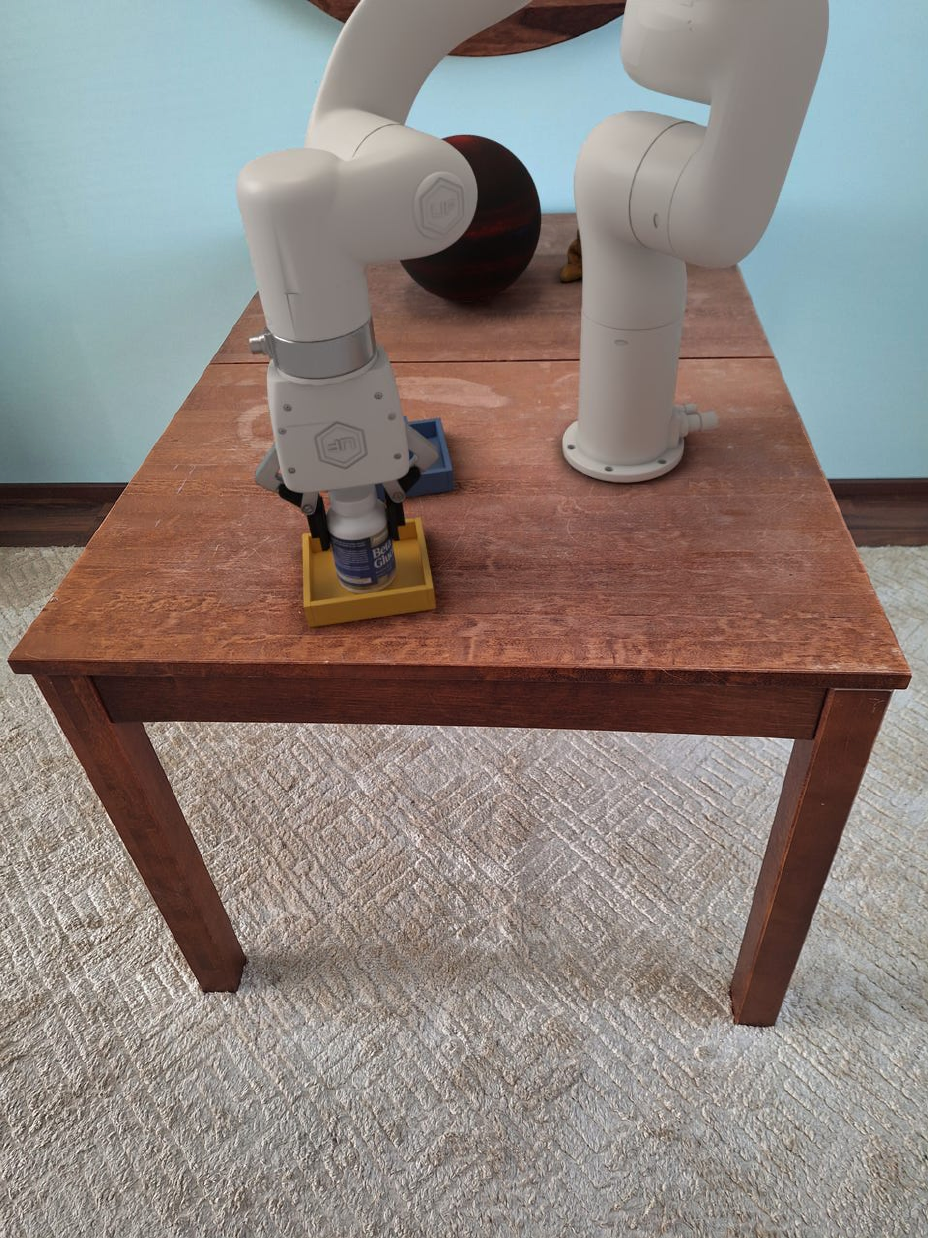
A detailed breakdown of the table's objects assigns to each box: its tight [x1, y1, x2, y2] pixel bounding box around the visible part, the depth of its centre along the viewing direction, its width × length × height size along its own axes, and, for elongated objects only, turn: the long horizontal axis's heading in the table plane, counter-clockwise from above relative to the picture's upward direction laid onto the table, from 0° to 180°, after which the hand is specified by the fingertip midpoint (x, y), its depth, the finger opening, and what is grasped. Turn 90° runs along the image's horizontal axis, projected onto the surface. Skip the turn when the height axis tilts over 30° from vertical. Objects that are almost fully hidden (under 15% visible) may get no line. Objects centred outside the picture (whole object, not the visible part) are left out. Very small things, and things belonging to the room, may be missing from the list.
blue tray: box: [375, 417, 456, 502], centre depth 91 cm, size 11×10×2 cm
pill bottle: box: [326, 484, 396, 594], centre depth 75 cm, size 5×5×10 cm
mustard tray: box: [301, 516, 437, 628], centre depth 78 cm, size 11×10×2 cm
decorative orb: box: [399, 134, 542, 303], centre depth 114 cm, size 20×20×20 cm
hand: (360, 534), depth 75 cm, fingers closed on pill bottle, 5 cm apart
